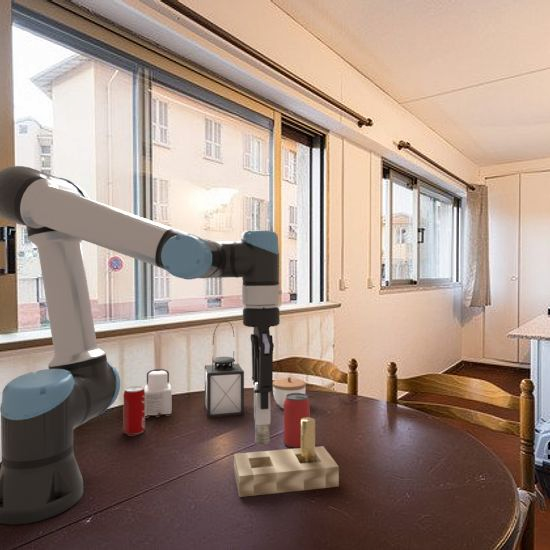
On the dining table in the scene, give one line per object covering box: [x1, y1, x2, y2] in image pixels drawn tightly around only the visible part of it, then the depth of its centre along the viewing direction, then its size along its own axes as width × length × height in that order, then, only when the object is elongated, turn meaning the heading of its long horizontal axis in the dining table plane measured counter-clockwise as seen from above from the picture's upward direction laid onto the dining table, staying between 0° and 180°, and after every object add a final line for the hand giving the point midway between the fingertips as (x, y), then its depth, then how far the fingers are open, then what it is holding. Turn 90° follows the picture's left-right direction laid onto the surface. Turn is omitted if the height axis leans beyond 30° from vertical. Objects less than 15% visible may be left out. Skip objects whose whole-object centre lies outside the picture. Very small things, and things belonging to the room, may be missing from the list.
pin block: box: [233, 445, 340, 498], centre depth 86 cm, size 20×10×4 cm, turn 101°
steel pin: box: [254, 382, 271, 445], centre depth 85 cm, size 3×3×12 cm
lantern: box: [204, 320, 245, 418], centre depth 129 cm, size 11×11×28 cm
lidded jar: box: [272, 376, 307, 410], centre depth 133 cm, size 11×11×9 cm
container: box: [144, 368, 173, 416], centre depth 127 cm, size 8×8×13 cm
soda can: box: [122, 385, 146, 435], centre depth 111 cm, size 6×6×12 cm
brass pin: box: [301, 417, 316, 464], centre depth 87 cm, size 3×3×12 cm
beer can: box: [283, 393, 311, 449], centre depth 104 cm, size 7×7×12 cm
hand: (262, 420), depth 85 cm, fingers closed on steel pin, 3 cm apart
